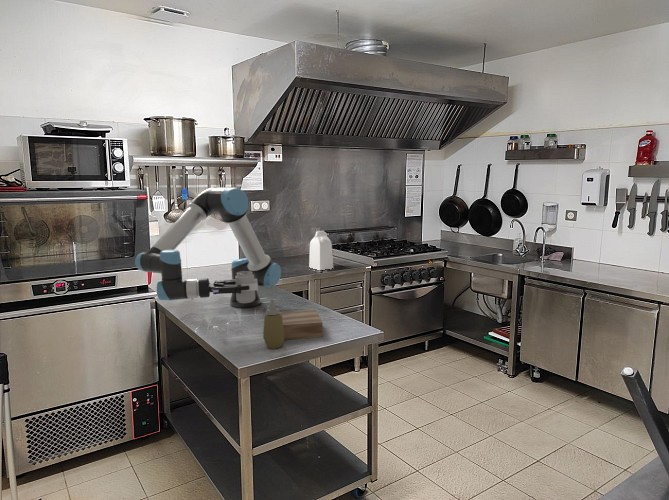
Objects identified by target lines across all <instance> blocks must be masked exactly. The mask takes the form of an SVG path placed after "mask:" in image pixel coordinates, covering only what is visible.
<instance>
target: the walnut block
mask: <svg viewBox="0 0 669 500" xmlns="http://www.w3.org/2000/svg"><path fill="white" fill-rule="evenodd" d="M279 314H281V315H282V321H283V327H284V334H285V338H284V341H288V340H297V339H298V340H299V339H310V338H311V339H312V338H323V336H324V335H323V321H322V319H321V317H320V315H319V313H318V311H317V310H316V309H308V310H297V311H295V310H294V311H293V310H292V311H279Z"/></svg>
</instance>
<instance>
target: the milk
mask: <svg viewBox="0 0 669 500" xmlns="http://www.w3.org/2000/svg"><path fill="white" fill-rule="evenodd" d="M332 244H333V243H332V240H331V239H330V238H329V237H328V236H327V234H326V232H325V230H318V231H315V234H314V236H313V238H312V239H311V240H310V242H309V259H308V261H309V263H308V264H309V265H308V268H309V267H310V268H313V269H317V270H325V269H330V270H333V269H334V260H333V259H334V258H333V245H332ZM332 268H333V269H332ZM325 271H326V270H325Z"/></svg>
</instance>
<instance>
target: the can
mask: <svg viewBox="0 0 669 500" xmlns="http://www.w3.org/2000/svg"><path fill="white" fill-rule="evenodd" d="M235 282H236V285H241V284H252V283H254V275H253V274H252V272H251V271H241V272H237V275H236V276H235ZM236 298H237V301H238V302H239V303H250V302H253V301H254V300H255V290H254V291H241V294H239V293H236Z"/></svg>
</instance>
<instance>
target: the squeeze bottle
mask: <svg viewBox="0 0 669 500" xmlns="http://www.w3.org/2000/svg"><path fill="white" fill-rule="evenodd" d="M265 311H266V314H265V315H264V318H263V335H262V336H263V337H262V338H263V340H264V342H265V345H266V348H267V349H279V348H281V347H282V346H283V344H284V341H285V340H284V338H285V334H284V327H283V321H282V315H281V314H279V312H280V308H277V307H276V303H275V299H270V303H269V307H268V308H267V309H266V310H265Z"/></svg>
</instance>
